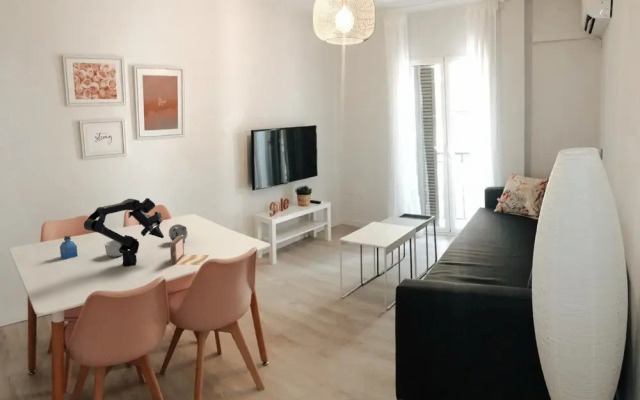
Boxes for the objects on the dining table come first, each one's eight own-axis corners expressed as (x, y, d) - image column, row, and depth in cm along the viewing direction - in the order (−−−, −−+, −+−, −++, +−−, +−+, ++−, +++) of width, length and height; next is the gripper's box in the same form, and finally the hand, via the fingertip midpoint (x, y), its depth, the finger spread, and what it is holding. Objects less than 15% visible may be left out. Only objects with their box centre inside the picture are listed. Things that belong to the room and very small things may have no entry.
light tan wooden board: (168, 265, 263) (167, 264, 263) (178, 255, 279) (178, 254, 279) (201, 265, 262) (200, 264, 262) (209, 255, 279) (209, 255, 279)
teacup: (121, 258, 274) (120, 244, 272) (102, 258, 274) (100, 244, 272) (131, 251, 287) (130, 237, 286) (112, 250, 287) (111, 237, 286)
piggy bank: (172, 247, 295) (171, 228, 293) (166, 241, 308) (165, 223, 306) (190, 244, 301) (190, 226, 298) (184, 238, 313) (183, 221, 311)
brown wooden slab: (171, 264, 262) (169, 242, 260) (180, 255, 277) (178, 235, 275) (175, 264, 262) (174, 243, 260) (184, 255, 277) (183, 235, 275)
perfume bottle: (77, 256, 277) (75, 235, 275) (67, 259, 272) (64, 238, 270) (71, 254, 280) (69, 234, 278) (60, 257, 275) (58, 236, 273)
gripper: (145, 211, 255) (167, 232, 257) (158, 204, 274) (178, 223, 275) (131, 225, 257) (153, 246, 259) (145, 217, 275) (165, 236, 277)
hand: (163, 237), depth 268 cm, fingers closed
